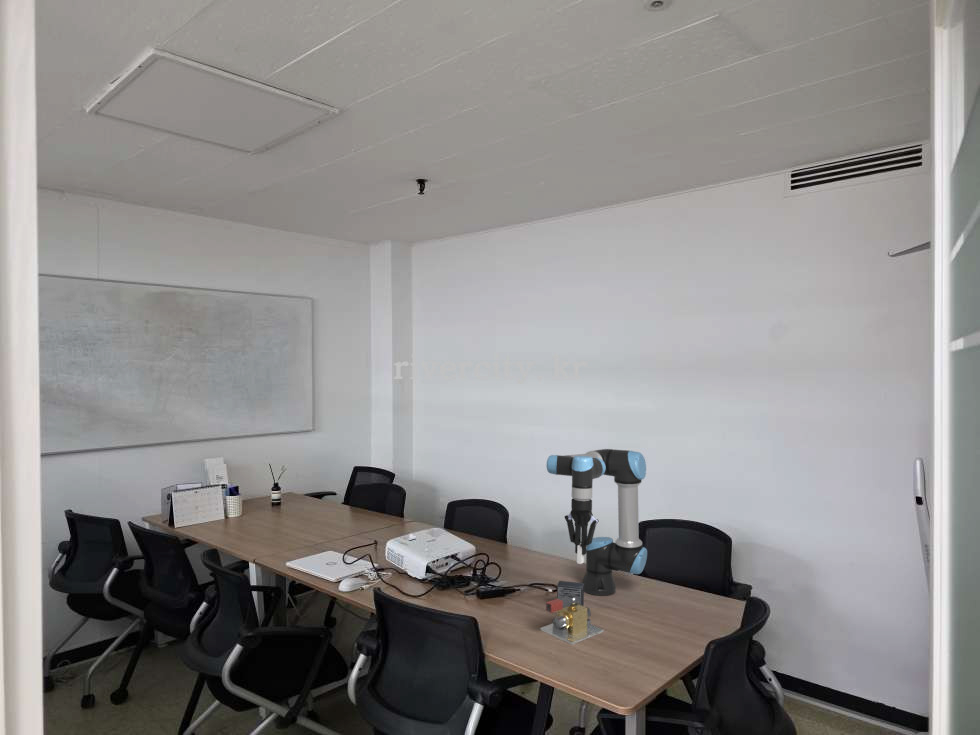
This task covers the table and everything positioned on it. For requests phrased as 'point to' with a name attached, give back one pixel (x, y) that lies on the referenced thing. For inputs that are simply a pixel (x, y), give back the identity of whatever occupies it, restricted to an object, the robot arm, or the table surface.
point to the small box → (571, 590)
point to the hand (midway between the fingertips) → (580, 562)
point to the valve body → (572, 625)
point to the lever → (562, 603)
